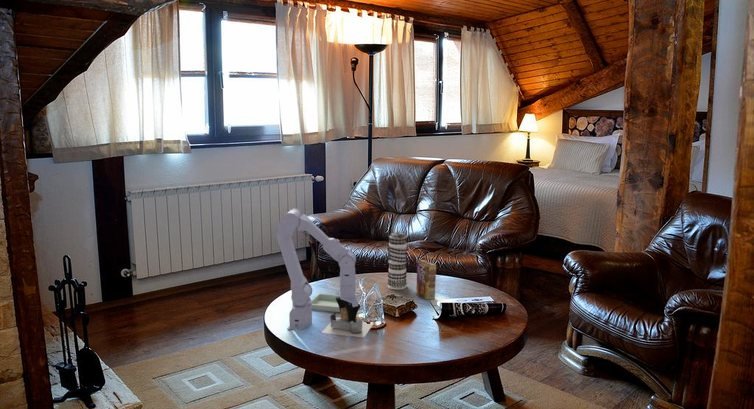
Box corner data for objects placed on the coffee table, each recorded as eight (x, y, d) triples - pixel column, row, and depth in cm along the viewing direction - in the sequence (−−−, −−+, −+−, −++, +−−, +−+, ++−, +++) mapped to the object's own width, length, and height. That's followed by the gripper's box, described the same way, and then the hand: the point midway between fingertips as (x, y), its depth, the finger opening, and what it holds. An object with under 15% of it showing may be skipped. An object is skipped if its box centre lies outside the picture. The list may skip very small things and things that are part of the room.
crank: (364, 330, 219) (364, 317, 218) (358, 334, 215) (359, 321, 214) (333, 324, 224) (333, 311, 223) (327, 328, 220) (327, 315, 219)
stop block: (354, 325, 224) (354, 310, 223) (344, 327, 222) (344, 311, 221) (350, 321, 228) (350, 306, 227) (340, 323, 226) (340, 308, 225)
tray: (340, 314, 238) (340, 307, 238) (306, 311, 242) (306, 304, 241) (350, 303, 252) (350, 296, 251) (318, 300, 255) (318, 293, 254)
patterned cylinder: (384, 284, 277) (384, 231, 272) (403, 282, 280) (404, 230, 275) (390, 290, 268) (391, 236, 264) (410, 288, 271) (411, 234, 267)
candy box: (435, 298, 258) (436, 264, 255) (427, 300, 256) (428, 265, 253) (423, 292, 266) (424, 259, 263) (415, 294, 263) (416, 260, 261)
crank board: (363, 340, 213) (363, 337, 213) (321, 335, 217) (321, 332, 217) (375, 323, 229) (375, 321, 228) (335, 319, 232) (335, 317, 232)
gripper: (365, 288, 218) (365, 324, 220) (350, 277, 230) (350, 311, 233) (347, 291, 215) (347, 327, 217) (332, 280, 227) (333, 314, 230)
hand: (347, 319), depth 225 cm, fingers open, 7 cm apart
